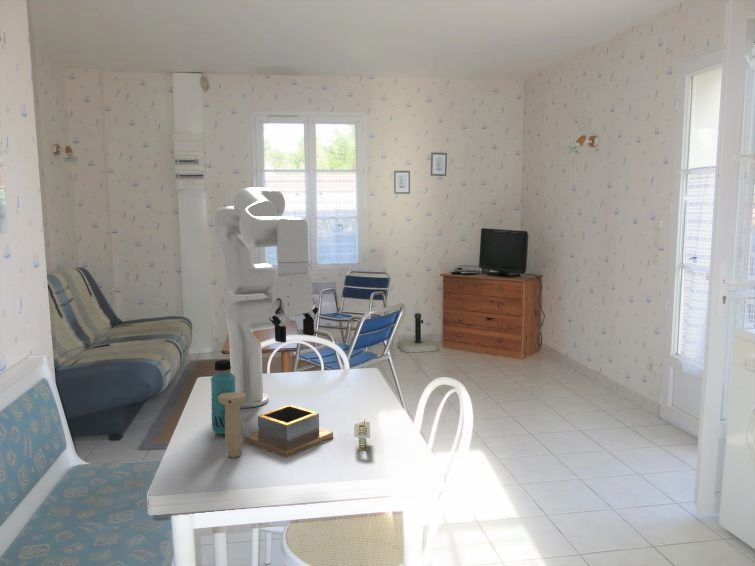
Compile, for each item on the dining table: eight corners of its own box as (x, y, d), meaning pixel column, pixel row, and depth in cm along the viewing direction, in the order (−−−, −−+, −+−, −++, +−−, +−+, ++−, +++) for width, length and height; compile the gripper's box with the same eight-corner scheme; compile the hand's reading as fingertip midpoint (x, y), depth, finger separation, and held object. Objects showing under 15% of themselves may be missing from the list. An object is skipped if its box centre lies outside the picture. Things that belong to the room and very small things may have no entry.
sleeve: (244, 441, 155) (243, 416, 154) (290, 424, 167) (290, 400, 166) (286, 457, 145) (286, 430, 144) (333, 437, 157) (332, 412, 156)
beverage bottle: (208, 434, 160) (204, 360, 158) (231, 428, 164) (228, 356, 162) (219, 441, 155) (215, 365, 153) (242, 434, 159) (239, 360, 157)
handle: (245, 459, 144) (243, 398, 142) (218, 459, 144) (215, 398, 142) (249, 451, 149) (247, 392, 147) (223, 451, 148) (220, 392, 147)
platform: (337, 463, 142) (336, 437, 141) (339, 435, 160) (338, 411, 159) (388, 462, 142) (387, 435, 141) (384, 434, 160) (384, 410, 159)
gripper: (306, 265, 155) (308, 330, 158) (255, 271, 142) (258, 342, 144) (328, 266, 151) (329, 333, 153) (277, 273, 137) (280, 346, 139)
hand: (295, 338), depth 148 cm, fingers open, 9 cm apart
